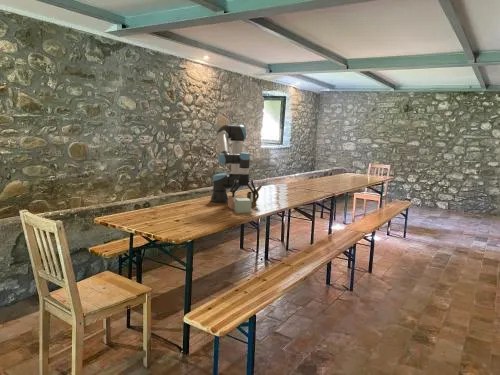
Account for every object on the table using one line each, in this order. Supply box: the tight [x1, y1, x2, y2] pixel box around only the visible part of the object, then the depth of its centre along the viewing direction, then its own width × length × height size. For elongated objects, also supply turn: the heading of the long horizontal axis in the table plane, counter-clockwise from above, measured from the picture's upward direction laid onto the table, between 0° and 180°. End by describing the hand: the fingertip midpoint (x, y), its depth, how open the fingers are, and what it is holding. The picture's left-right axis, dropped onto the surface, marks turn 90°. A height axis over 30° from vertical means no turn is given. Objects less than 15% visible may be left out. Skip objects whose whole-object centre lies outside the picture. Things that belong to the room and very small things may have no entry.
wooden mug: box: [246, 185, 262, 207], centre depth 304 cm, size 9×14×18 cm, turn 61°
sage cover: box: [234, 197, 252, 214], centre depth 283 cm, size 10×10×9 cm
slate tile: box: [231, 209, 254, 214], centre depth 283 cm, size 13×13×1 cm
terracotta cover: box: [227, 195, 245, 210], centre depth 295 cm, size 10×10×9 cm
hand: (242, 201), depth 283 cm, fingers open, 13 cm apart
